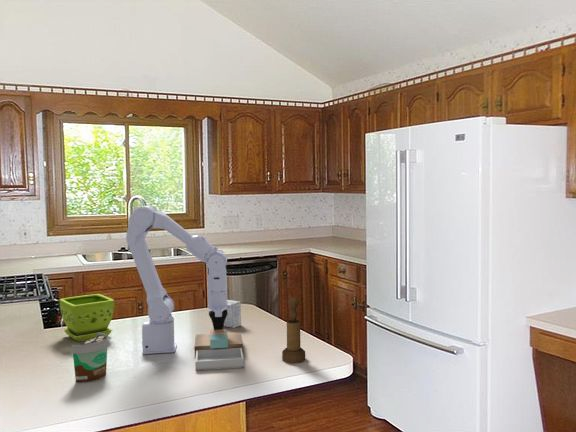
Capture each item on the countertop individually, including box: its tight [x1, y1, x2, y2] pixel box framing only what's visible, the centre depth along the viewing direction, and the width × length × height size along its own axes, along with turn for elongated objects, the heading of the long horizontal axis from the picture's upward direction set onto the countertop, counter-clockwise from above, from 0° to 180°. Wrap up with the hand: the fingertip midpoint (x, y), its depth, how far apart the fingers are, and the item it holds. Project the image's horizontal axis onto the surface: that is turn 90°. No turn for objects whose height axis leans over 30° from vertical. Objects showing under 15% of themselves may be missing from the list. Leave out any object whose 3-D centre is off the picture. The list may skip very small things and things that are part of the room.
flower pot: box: [59, 293, 115, 343], centre depth 173 cm, size 14×14×13 cm
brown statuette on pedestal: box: [281, 296, 306, 364], centre depth 148 cm, size 7×6×18 cm
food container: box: [70, 333, 111, 383], centre depth 136 cm, size 12×6×10 cm, turn 168°
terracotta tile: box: [209, 328, 228, 335], centre depth 155 cm, size 5×5×2 cm
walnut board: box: [194, 331, 244, 359], centre depth 157 cm, size 14×12×4 cm
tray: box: [194, 348, 245, 372], centre depth 146 cm, size 13×10×2 cm
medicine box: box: [224, 299, 242, 329], centre depth 185 cm, size 8×4×9 cm, turn 58°
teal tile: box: [210, 334, 228, 349], centre depth 150 cm, size 5×5×2 cm
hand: (218, 334), depth 159 cm, fingers closed
